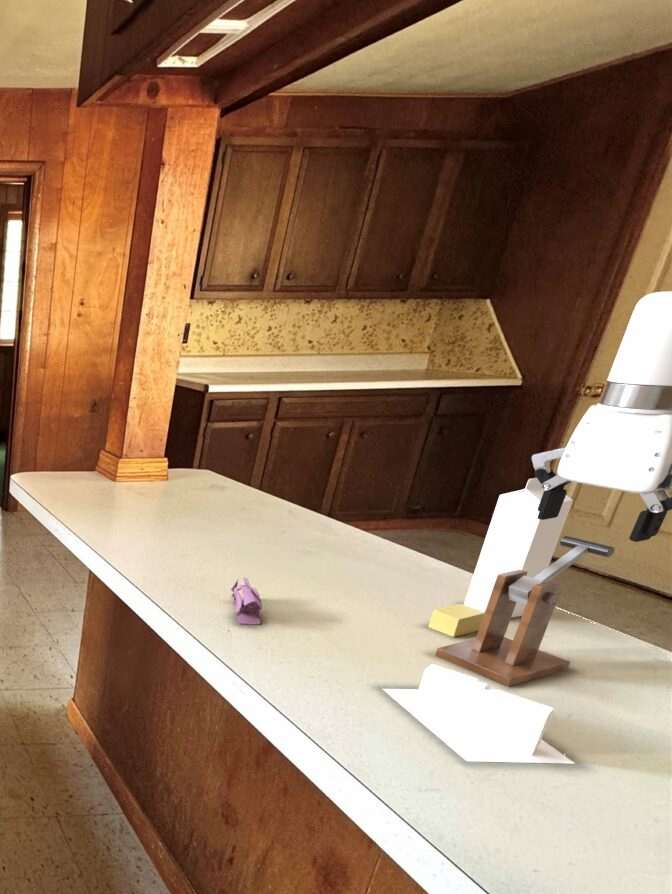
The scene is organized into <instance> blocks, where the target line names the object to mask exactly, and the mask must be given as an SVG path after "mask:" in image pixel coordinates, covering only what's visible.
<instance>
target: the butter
mask: <svg viewBox="0 0 672 894" xmlns="http://www.w3.org/2000/svg"><path fill="white" fill-rule="evenodd" d="M484 613H485V612H483V611H480V610H477V609H474V608H472V607H469V606H466V605H464V603H457V604H453V605H449V606H445V607H439V608H435V609H433V611H432V614H431V617H430V621H429V624H428V628H429V629H432V630H434V631H437V632H439V633H441V634H445V635H447V636H450V637H453V638H455V637H459V636H462V635H468V634H471V633H474V632H478V630H479V627H480V625H481V622H482V619H483V616H484Z"/></svg>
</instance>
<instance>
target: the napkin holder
mask: <svg viewBox="0 0 672 894" xmlns="http://www.w3.org/2000/svg"><path fill="white" fill-rule="evenodd" d="M382 690H383V691H384V692H385V693H386V694H387V695H389V696H390V698H392V699H393V700H394V701H396V702H397V703H398V704H399V705H400V706H401V707H403V708H404V709H405V710H406V711H407V712H408V713H410V714H411V715H412V716H413V717H414V718H415V719H417V720H418V721H419V722H420V723H421V724H422V725H424V727H426V728H427V729H428V730H429V731H431V732H432V733H433V734H434V735H435V736H436V737H438V738H439V739H440V740H441V741H442V742H443V743H445V744H446V745H447V746H448V747H449V748H450V749H452V750H453V751H454V752H455V753H456V754H458V755H459V757H461V758H462V760H464V761H466V762H478V763H479V762H482V763H483V762H484V763H523V764H524V763H526V764H528V763H529V764H568V765H569V764H572V765H575V764H576V762H574V761H573V760H571V759H570V758H568V757H567V756H566V753H564V754H563V753H561V752H560V751H559V750H557V749H556V748H554V747H553V746H552V745H550V744H549V743H547V741H545V740H543V736H544V734H545V732H546V729H547V727H548V724H549V722H550V719H551V717H552V715H553V713H554V710H555V708H554V707H552V706H550V705H546V704H543V703H541V702H537V701H533V700H531V699H527V698H525V697H522V696H520V695H516V694H513V693H509V692H508V691H503V690H501V689H498V688H495V687H491V686H489V685H488V683H485V682H483V681H479V678H477V677H474V676H471V675H468V674H465V673H462V672H459V671H456V670H453V669H451V668H446V667H443V666H440V665H437V664H435V663H431V664H430V665H429V666H427V667H426V668H425V669H424V672H423V675H422V677H421V681H420V684H419V687H418V688H417V689H415V688H382Z"/></svg>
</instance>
